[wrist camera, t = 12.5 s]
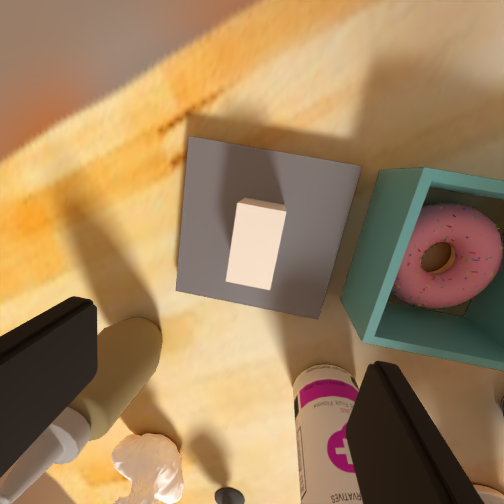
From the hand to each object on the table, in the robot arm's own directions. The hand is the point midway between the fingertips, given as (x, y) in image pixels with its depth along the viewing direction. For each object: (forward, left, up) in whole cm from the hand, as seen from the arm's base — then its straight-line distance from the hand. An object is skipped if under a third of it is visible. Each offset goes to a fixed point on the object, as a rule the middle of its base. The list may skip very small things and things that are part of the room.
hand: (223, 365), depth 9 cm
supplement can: (-12, +19, -21) cm, 30 cm away
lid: (0, 0, -21) cm, 21 cm away
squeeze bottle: (+13, +17, -21) cm, 30 cm away
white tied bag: (+9, +36, -21) cm, 42 cm away
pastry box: (-18, -1, -21) cm, 27 cm away
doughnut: (-18, -1, -21) cm, 28 cm away
